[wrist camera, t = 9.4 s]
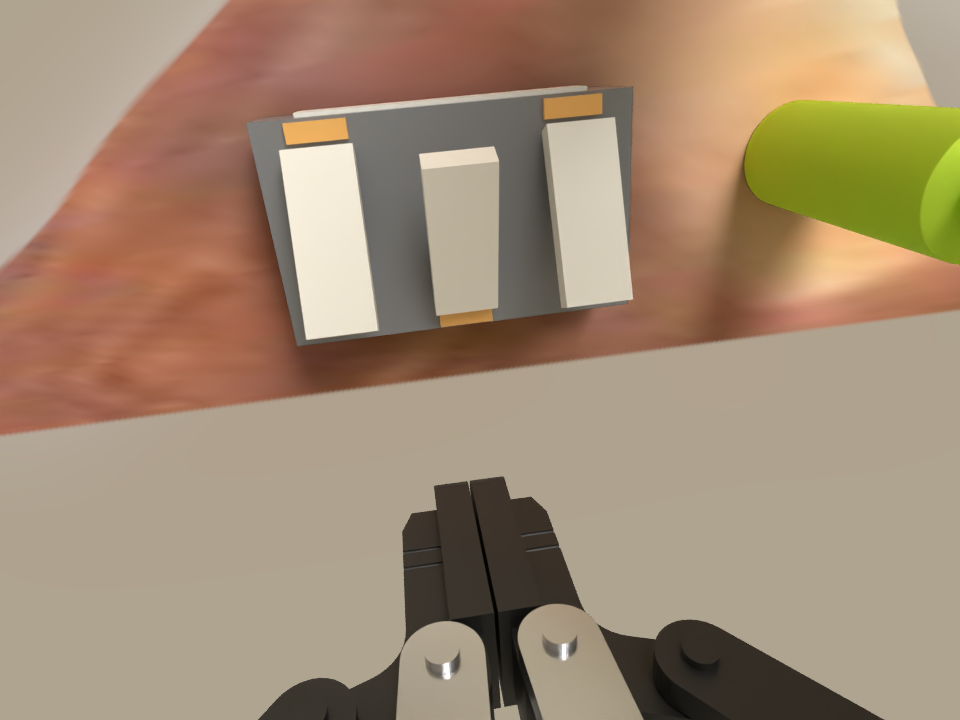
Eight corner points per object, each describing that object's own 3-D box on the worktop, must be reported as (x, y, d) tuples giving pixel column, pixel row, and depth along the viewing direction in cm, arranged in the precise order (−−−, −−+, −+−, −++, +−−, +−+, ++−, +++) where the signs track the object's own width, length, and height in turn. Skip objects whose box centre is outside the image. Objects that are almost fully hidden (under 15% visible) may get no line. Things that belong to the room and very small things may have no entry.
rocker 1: (355, 151, 28) (352, 143, 27) (379, 330, 29) (378, 330, 28) (284, 158, 28) (278, 150, 27) (310, 339, 28) (306, 339, 27)
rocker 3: (606, 124, 29) (614, 117, 28) (624, 299, 30) (633, 299, 29) (541, 131, 29) (547, 123, 28) (561, 307, 30) (567, 307, 29)
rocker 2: (494, 146, 26) (499, 161, 25) (493, 292, 32) (498, 308, 31) (418, 153, 26) (421, 169, 25) (433, 299, 32) (436, 315, 31)
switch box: (605, 81, 33) (644, 82, 28) (604, 282, 37) (637, 312, 32) (261, 113, 31) (238, 120, 26) (306, 319, 36) (293, 357, 31)
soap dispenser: (780, 238, 38) (1139, 382, 20) (725, 150, 35) (1085, 226, 17) (861, 172, 37) (1319, 262, 19) (812, 76, 34) (1293, 74, 16)
